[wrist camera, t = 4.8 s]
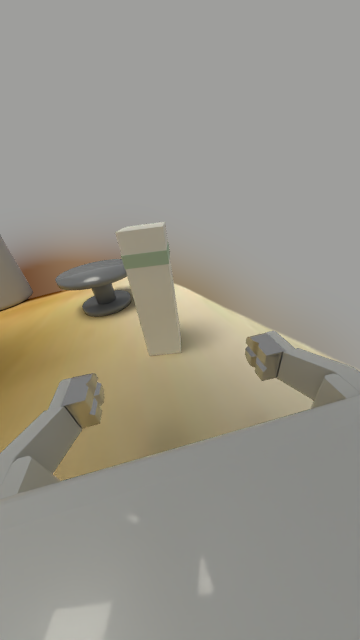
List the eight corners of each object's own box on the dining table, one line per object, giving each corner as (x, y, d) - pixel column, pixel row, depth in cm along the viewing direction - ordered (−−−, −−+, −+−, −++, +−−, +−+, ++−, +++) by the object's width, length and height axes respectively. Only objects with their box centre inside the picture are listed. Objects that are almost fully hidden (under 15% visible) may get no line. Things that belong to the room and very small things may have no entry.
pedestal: (59, 326, 32) (38, 288, 28) (89, 294, 43) (76, 263, 39) (134, 318, 31) (123, 278, 27) (145, 287, 42) (137, 256, 38)
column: (148, 356, 23) (114, 232, 15) (152, 335, 26) (125, 226, 19) (181, 352, 23) (163, 226, 15) (180, 332, 26) (165, 221, 19)
